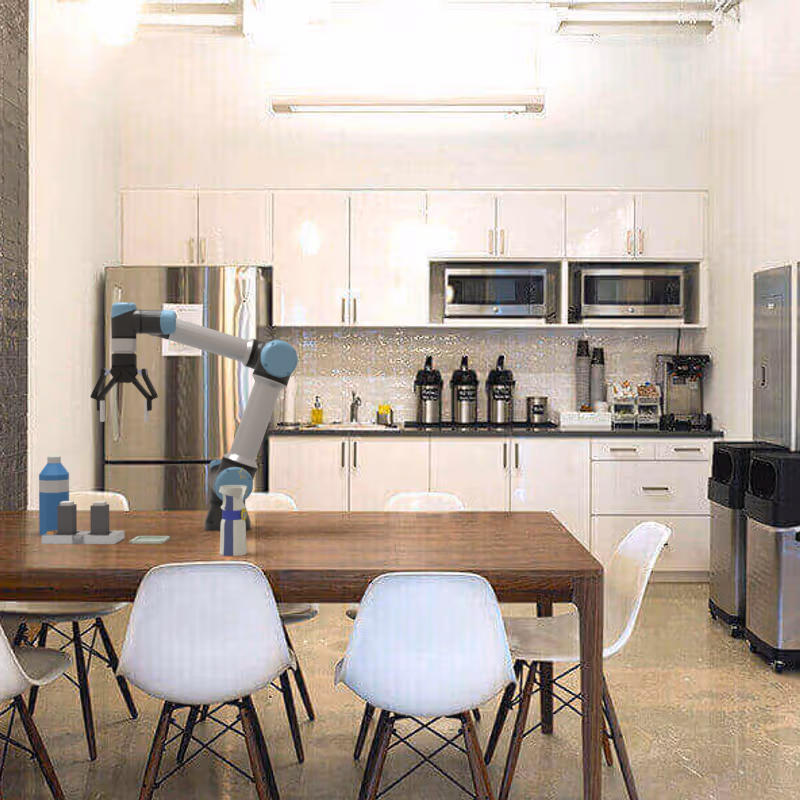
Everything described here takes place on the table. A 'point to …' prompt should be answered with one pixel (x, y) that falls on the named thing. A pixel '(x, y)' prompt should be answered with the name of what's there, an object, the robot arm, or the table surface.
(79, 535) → the pdu strip
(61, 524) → the twin plug
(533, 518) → the table surface
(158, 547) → the table surface
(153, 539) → the tray
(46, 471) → the water bottle
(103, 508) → the plug
